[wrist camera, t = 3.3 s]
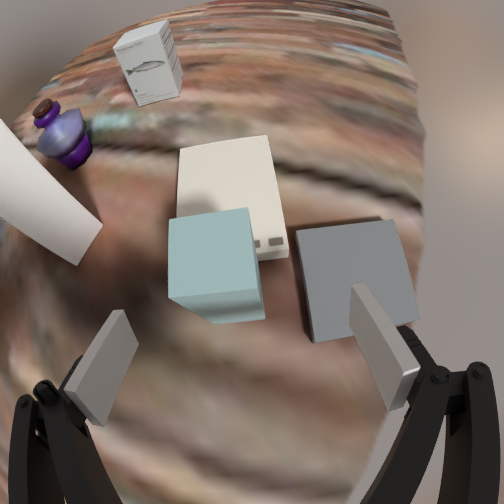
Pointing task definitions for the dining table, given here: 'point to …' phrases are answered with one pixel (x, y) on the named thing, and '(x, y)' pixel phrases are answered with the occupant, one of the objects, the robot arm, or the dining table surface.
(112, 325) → the robot arm
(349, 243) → the coaster
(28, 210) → the milk
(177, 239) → the light blue tall block
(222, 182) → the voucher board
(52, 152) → the potion bottle
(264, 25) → the dining table surface
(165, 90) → the supplement box
